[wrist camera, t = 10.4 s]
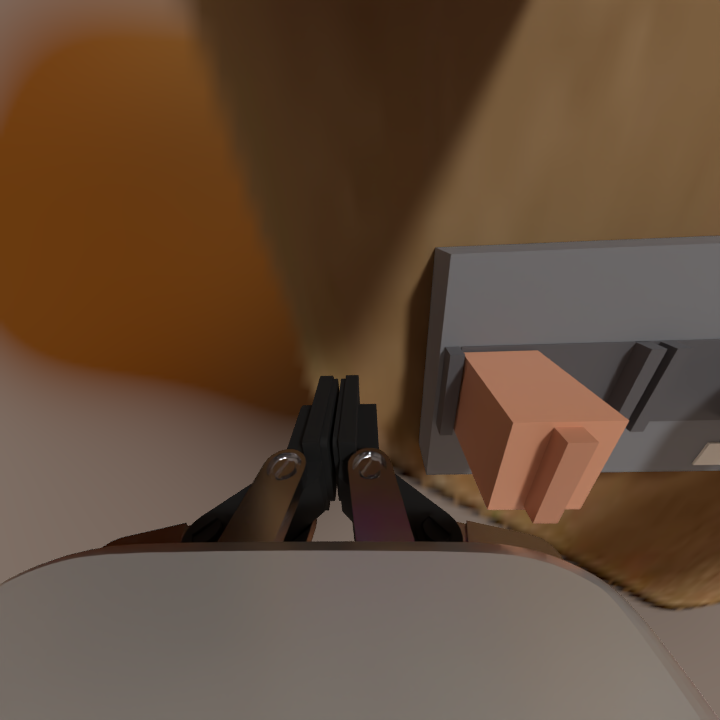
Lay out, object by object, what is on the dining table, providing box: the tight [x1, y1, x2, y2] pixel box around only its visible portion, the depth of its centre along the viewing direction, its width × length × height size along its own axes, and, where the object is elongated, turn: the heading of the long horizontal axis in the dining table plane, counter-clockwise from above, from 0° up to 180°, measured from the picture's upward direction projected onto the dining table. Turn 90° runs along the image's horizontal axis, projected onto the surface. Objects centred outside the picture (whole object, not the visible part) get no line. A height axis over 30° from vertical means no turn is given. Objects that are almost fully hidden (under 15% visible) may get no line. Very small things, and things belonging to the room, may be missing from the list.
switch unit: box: [419, 236, 720, 475], centre depth 13 cm, size 26×12×3 cm, turn 92°
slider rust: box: [453, 350, 629, 523], centre depth 10 cm, size 3×4×5 cm
